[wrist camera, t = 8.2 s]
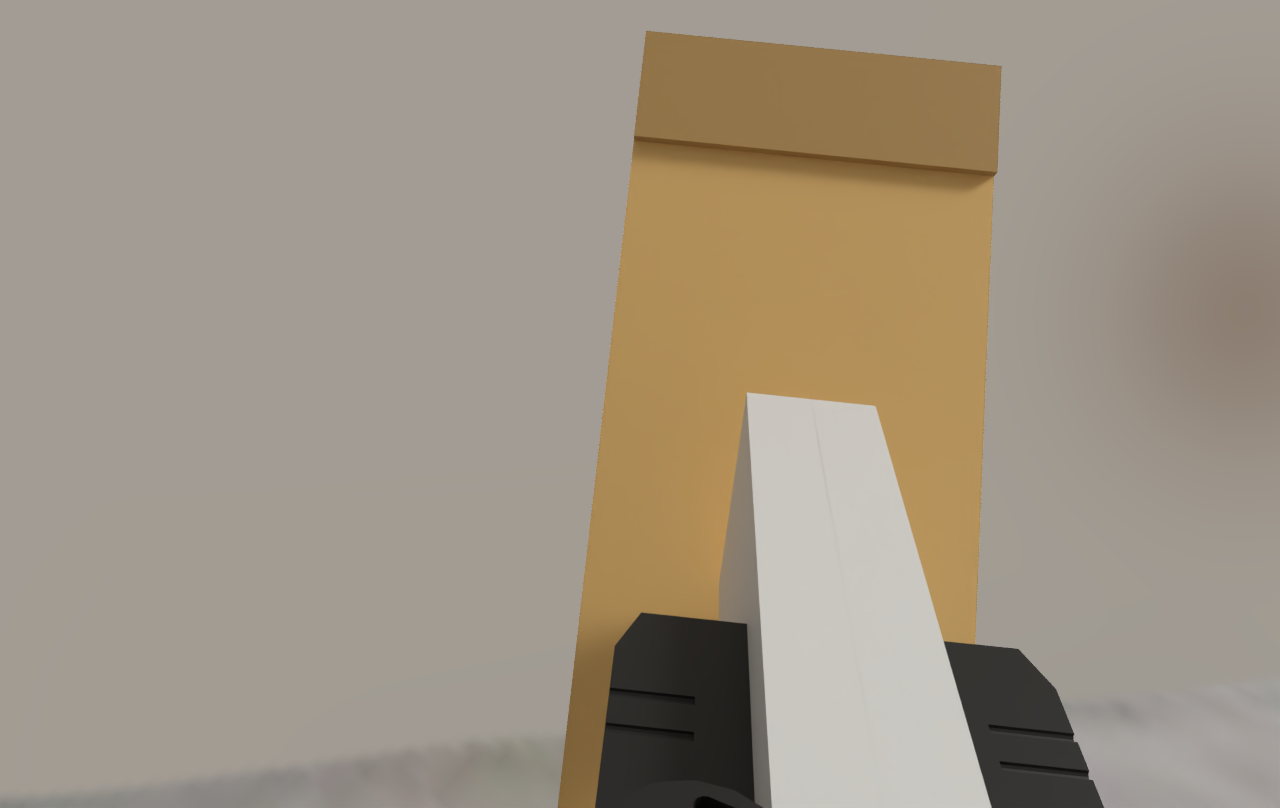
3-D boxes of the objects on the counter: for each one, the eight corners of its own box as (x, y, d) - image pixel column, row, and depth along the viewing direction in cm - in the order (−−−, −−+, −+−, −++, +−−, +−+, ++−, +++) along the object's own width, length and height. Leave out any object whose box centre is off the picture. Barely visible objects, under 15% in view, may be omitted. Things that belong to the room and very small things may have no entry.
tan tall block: (899, 1505, 14) (964, 124, 17) (939, 1631, 12) (1001, 66, 16) (489, 1455, 14) (645, 92, 17) (468, 1575, 12) (645, 30, 16)
